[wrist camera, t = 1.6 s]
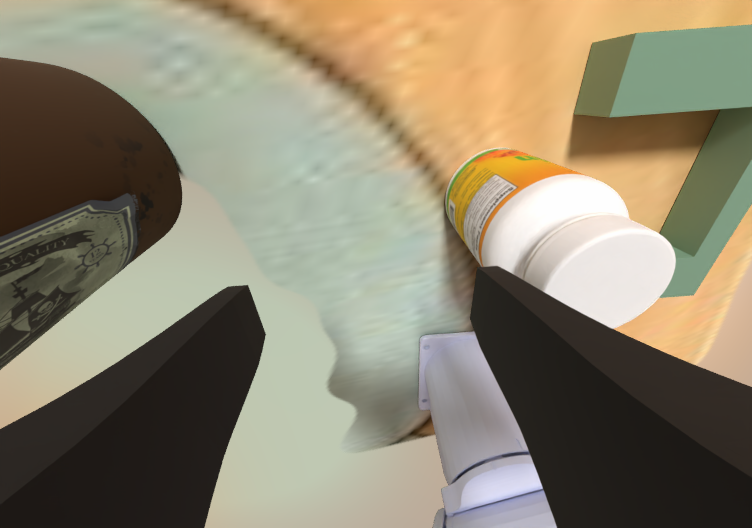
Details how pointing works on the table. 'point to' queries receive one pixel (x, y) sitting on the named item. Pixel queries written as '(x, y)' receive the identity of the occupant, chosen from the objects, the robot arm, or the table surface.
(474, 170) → the supplement bottle
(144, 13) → the table surface
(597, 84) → the green u-shaped block
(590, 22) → the table surface
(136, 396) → the robot arm
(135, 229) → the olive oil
